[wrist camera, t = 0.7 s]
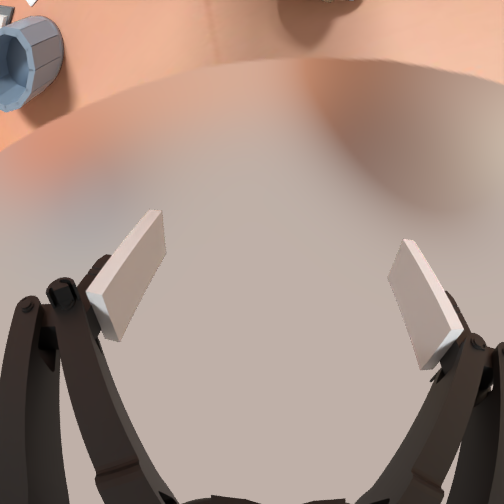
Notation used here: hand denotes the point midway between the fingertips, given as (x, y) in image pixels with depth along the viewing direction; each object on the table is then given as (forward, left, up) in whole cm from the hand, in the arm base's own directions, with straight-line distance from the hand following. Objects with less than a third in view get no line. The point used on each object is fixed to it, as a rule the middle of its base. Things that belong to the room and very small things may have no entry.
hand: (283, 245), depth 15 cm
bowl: (+12, -37, -27) cm, 48 cm away
